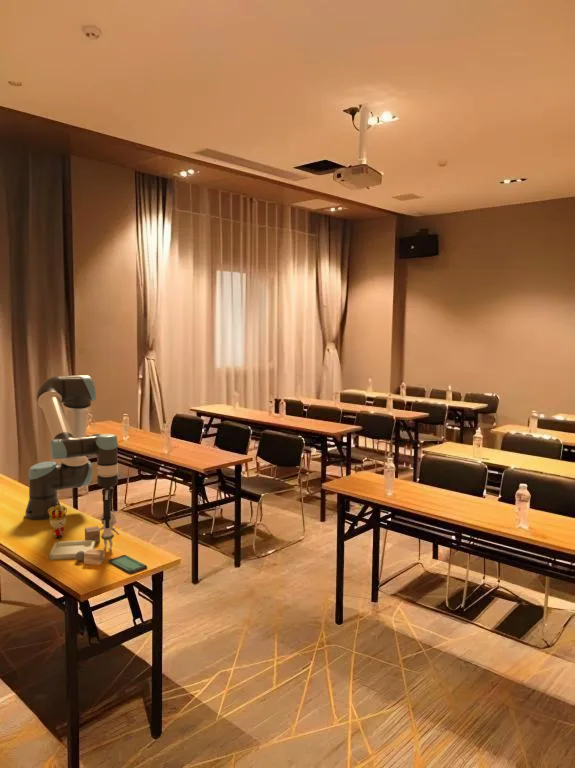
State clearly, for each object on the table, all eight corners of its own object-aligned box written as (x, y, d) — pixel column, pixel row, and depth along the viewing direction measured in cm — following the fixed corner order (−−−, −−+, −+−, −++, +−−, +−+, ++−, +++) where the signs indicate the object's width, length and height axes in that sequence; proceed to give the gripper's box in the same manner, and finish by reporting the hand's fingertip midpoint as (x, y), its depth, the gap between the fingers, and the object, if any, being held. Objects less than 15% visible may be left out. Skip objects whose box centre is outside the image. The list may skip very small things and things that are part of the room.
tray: (55, 546, 224) (55, 541, 224) (95, 543, 227) (95, 539, 227) (49, 559, 211) (48, 555, 211) (91, 557, 214) (91, 552, 214)
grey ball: (76, 558, 212) (76, 549, 212) (86, 558, 213) (86, 549, 213) (75, 562, 209) (75, 553, 209) (85, 562, 210) (85, 552, 209)
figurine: (92, 548, 222) (92, 511, 220) (102, 543, 227) (102, 506, 226) (114, 553, 218) (114, 515, 217) (124, 547, 224) (124, 510, 222)
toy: (60, 541, 229) (60, 505, 227) (44, 539, 230) (43, 503, 228) (71, 535, 236) (70, 499, 234) (55, 533, 237) (54, 498, 235)
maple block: (89, 559, 213) (88, 549, 212) (104, 560, 212) (104, 550, 212) (84, 563, 209) (84, 553, 208) (99, 565, 208) (99, 554, 208)
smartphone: (124, 554, 216) (147, 565, 206) (124, 557, 216) (147, 568, 206) (107, 559, 210) (129, 571, 200) (107, 563, 211) (130, 575, 201)
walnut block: (85, 539, 231) (84, 527, 231) (97, 537, 233) (97, 526, 233) (86, 544, 227) (86, 532, 226) (100, 542, 229) (99, 530, 228)
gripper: (99, 468, 228) (100, 524, 231) (94, 481, 210) (95, 542, 212) (119, 467, 230) (120, 523, 232) (115, 480, 211) (116, 541, 214)
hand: (108, 532), depth 222 cm, fingers closed on figurine, 6 cm apart
